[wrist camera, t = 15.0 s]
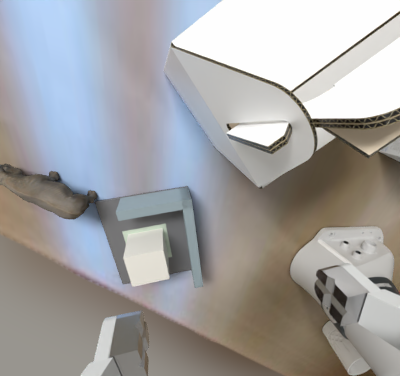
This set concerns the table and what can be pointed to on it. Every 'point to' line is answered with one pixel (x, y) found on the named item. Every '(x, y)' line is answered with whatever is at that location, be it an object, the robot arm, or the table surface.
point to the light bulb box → (392, 150)
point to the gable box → (291, 79)
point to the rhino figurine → (46, 192)
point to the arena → (154, 227)
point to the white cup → (345, 350)
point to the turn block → (146, 257)
